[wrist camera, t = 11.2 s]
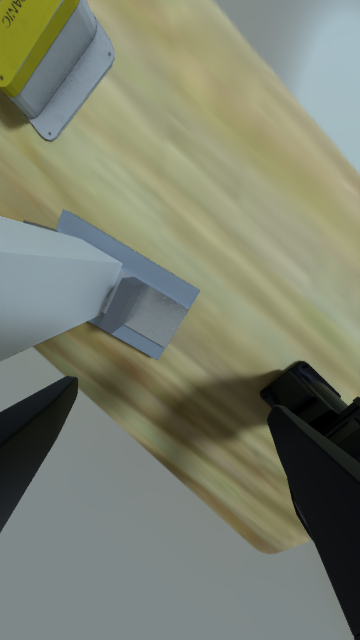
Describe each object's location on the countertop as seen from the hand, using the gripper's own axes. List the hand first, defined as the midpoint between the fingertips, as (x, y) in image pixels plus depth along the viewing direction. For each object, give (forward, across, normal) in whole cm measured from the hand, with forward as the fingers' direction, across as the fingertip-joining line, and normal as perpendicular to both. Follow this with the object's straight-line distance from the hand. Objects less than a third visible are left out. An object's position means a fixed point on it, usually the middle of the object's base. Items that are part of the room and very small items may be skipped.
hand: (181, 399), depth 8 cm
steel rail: (+12, +6, -1) cm, 14 cm away
